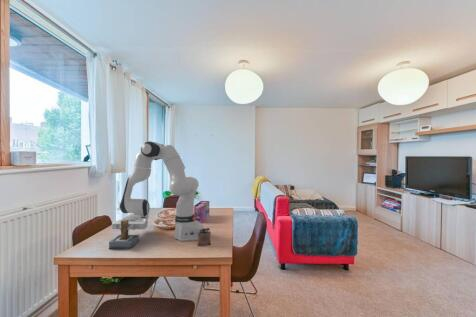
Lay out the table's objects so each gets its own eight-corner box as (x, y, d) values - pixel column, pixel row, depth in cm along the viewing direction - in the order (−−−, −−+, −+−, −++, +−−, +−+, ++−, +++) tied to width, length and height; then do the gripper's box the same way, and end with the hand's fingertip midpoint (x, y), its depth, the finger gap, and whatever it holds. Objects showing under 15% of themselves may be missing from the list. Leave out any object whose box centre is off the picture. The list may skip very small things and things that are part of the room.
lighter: (198, 246, 137) (198, 229, 136) (196, 244, 140) (197, 228, 140) (211, 244, 140) (211, 228, 140) (209, 243, 143) (209, 226, 143)
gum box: (202, 223, 183) (202, 206, 183) (192, 223, 184) (192, 206, 184) (209, 216, 207) (209, 201, 207) (200, 215, 208) (201, 200, 208)
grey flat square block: (139, 241, 144) (139, 234, 144) (130, 249, 132) (130, 241, 132) (119, 241, 144) (119, 234, 144) (109, 248, 132) (109, 241, 132)
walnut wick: (128, 239, 140) (128, 219, 140) (125, 241, 136) (125, 221, 136) (124, 239, 140) (124, 219, 140) (120, 241, 136) (121, 221, 136)
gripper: (118, 217, 151) (106, 223, 137) (149, 217, 151) (141, 223, 137) (118, 226, 151) (106, 234, 137) (149, 227, 151) (141, 234, 137)
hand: (124, 228), depth 137 cm, fingers closed on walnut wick, 2 cm apart
